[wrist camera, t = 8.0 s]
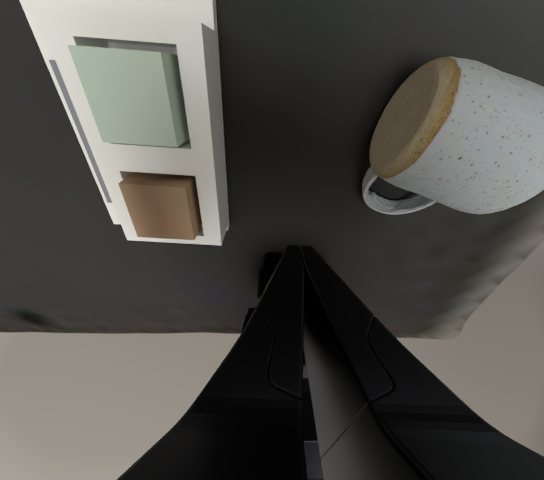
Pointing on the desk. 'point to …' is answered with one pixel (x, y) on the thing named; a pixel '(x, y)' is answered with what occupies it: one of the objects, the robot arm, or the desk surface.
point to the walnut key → (162, 205)
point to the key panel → (195, 83)
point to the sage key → (133, 95)
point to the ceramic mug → (459, 140)
